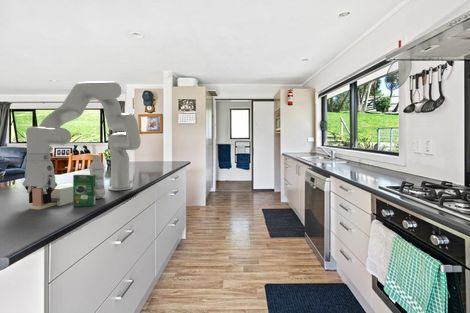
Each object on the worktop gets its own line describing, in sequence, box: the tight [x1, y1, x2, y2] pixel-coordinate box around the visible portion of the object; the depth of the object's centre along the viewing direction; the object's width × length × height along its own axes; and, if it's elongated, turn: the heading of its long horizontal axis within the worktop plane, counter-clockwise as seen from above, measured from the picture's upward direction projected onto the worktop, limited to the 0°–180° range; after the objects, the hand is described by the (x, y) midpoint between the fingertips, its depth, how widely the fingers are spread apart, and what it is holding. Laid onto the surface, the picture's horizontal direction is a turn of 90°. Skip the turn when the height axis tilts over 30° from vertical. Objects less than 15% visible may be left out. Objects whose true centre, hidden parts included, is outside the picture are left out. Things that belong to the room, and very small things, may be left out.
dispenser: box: [47, 182, 73, 207], centre depth 121 cm, size 15×10×7 cm
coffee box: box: [72, 174, 96, 208], centre depth 113 cm, size 8×3×13 cm, turn 102°
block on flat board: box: [29, 187, 57, 210], centre depth 117 cm, size 19×4×8 cm, turn 169°
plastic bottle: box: [88, 155, 106, 200], centre depth 128 cm, size 6×7×20 cm
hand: (40, 202), depth 110 cm, fingers open, 5 cm apart
